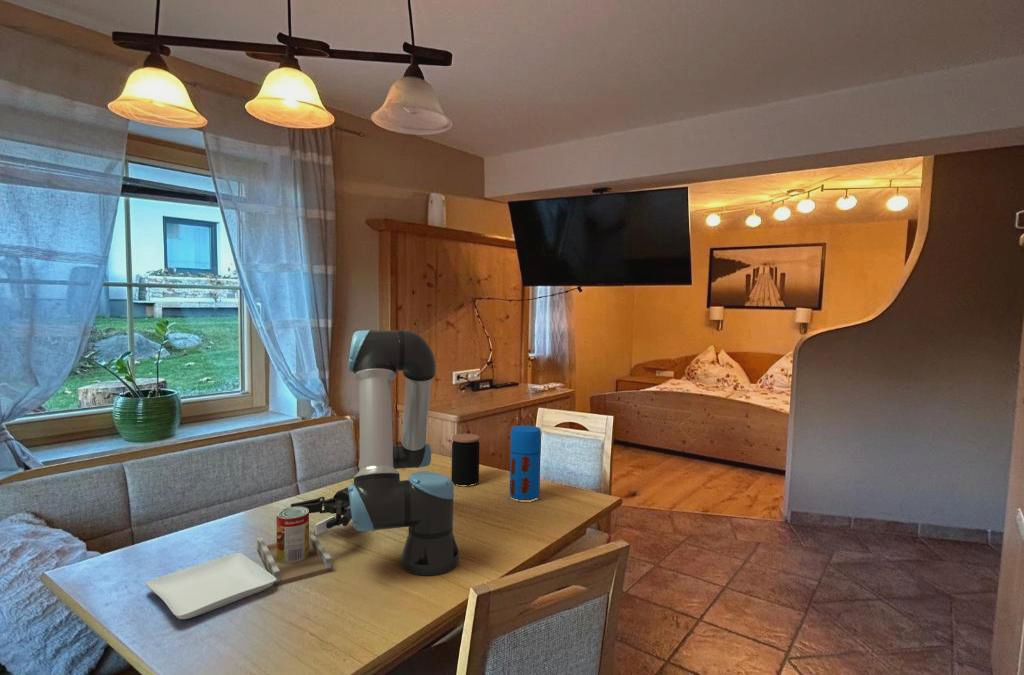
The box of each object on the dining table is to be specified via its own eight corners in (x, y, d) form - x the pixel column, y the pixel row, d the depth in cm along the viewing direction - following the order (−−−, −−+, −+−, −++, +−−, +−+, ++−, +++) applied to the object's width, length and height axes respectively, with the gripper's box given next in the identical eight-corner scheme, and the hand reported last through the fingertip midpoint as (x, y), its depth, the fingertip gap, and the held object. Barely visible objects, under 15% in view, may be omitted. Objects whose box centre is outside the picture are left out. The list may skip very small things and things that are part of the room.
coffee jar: (480, 479, 208) (481, 434, 207) (476, 488, 197) (477, 440, 196) (454, 477, 209) (455, 433, 208) (448, 486, 198) (449, 439, 197)
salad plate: (239, 562, 137) (238, 549, 137) (278, 591, 124) (278, 577, 124) (143, 595, 121) (143, 581, 121) (177, 633, 107) (177, 616, 107)
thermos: (539, 503, 183) (541, 432, 182) (509, 502, 183) (510, 431, 182) (538, 492, 194) (540, 425, 193) (509, 491, 194) (511, 425, 193)
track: (331, 571, 133) (331, 557, 133) (274, 586, 125) (274, 572, 125) (308, 539, 151) (308, 527, 151) (257, 550, 143) (257, 538, 143)
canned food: (303, 547, 144) (303, 504, 143) (313, 558, 138) (313, 513, 137) (272, 555, 139) (272, 510, 138) (281, 567, 133) (281, 520, 132)
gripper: (384, 518, 154) (332, 548, 134) (319, 504, 164) (262, 529, 144) (385, 493, 153) (332, 519, 134) (319, 480, 163) (262, 502, 144)
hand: (296, 524), depth 139 cm, fingers open, 13 cm apart
